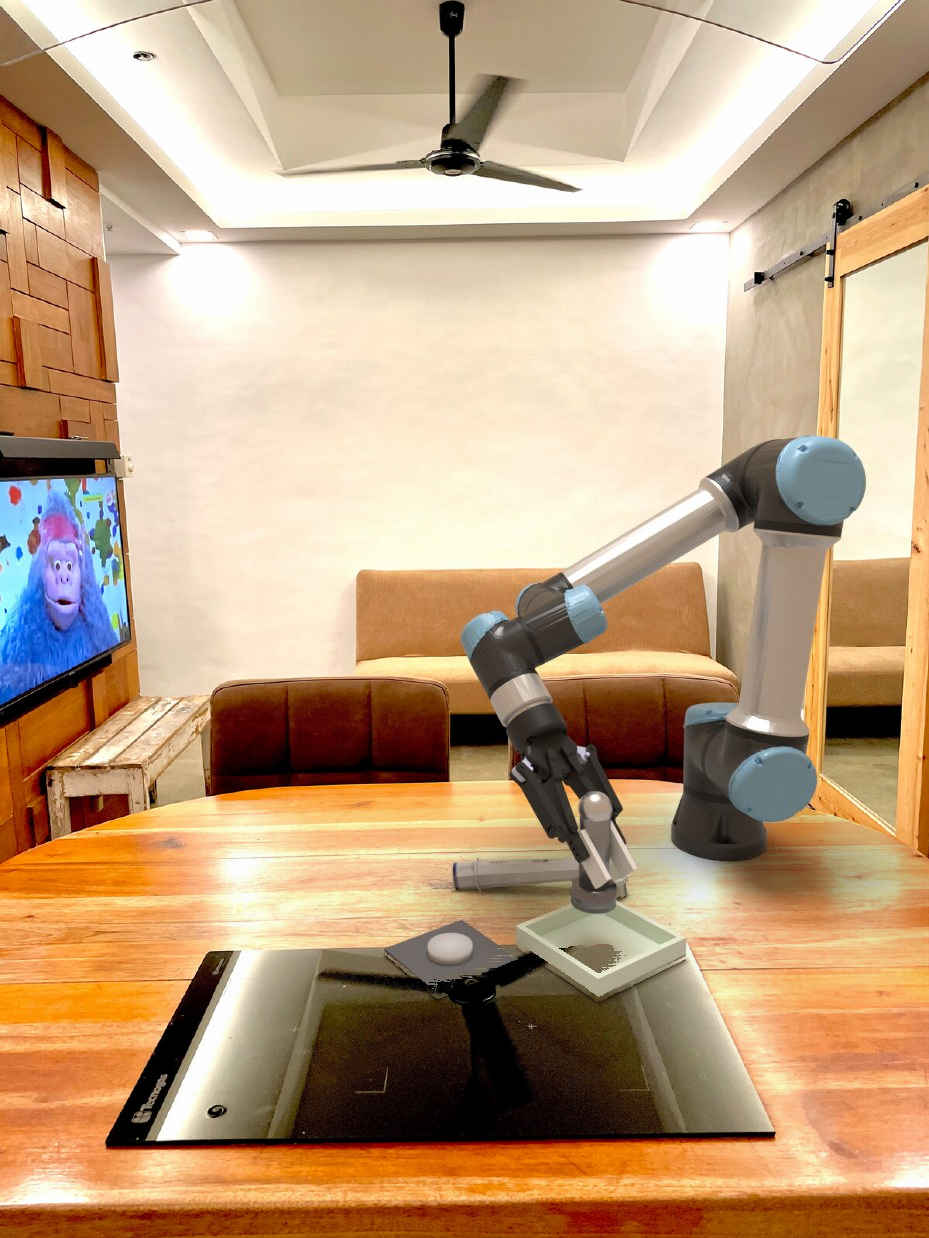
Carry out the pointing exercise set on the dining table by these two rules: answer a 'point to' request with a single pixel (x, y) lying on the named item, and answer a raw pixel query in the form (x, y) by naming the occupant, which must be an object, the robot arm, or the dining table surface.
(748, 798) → the robot arm
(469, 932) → the stud plate
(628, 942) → the tray
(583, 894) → the domed glass cylinder
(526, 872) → the grey long rounded piece
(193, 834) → the dining table surface
